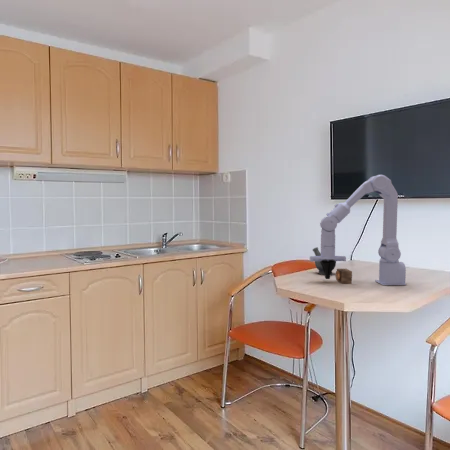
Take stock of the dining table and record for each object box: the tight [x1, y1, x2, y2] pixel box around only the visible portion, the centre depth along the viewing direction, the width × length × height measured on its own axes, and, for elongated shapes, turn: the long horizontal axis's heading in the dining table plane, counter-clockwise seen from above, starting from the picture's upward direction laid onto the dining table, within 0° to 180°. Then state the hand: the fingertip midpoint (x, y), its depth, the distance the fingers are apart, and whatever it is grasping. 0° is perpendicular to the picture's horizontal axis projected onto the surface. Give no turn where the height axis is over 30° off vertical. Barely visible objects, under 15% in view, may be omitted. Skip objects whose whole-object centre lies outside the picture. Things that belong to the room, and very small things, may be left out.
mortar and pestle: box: [312, 247, 337, 276], centre depth 181 cm, size 11×9×12 cm
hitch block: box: [336, 268, 353, 285], centre depth 162 cm, size 4×7×5 cm, turn 1°
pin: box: [334, 270, 341, 281], centre depth 162 cm, size 6×4×4 cm, turn 91°
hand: (327, 278), depth 162 cm, fingers closed
